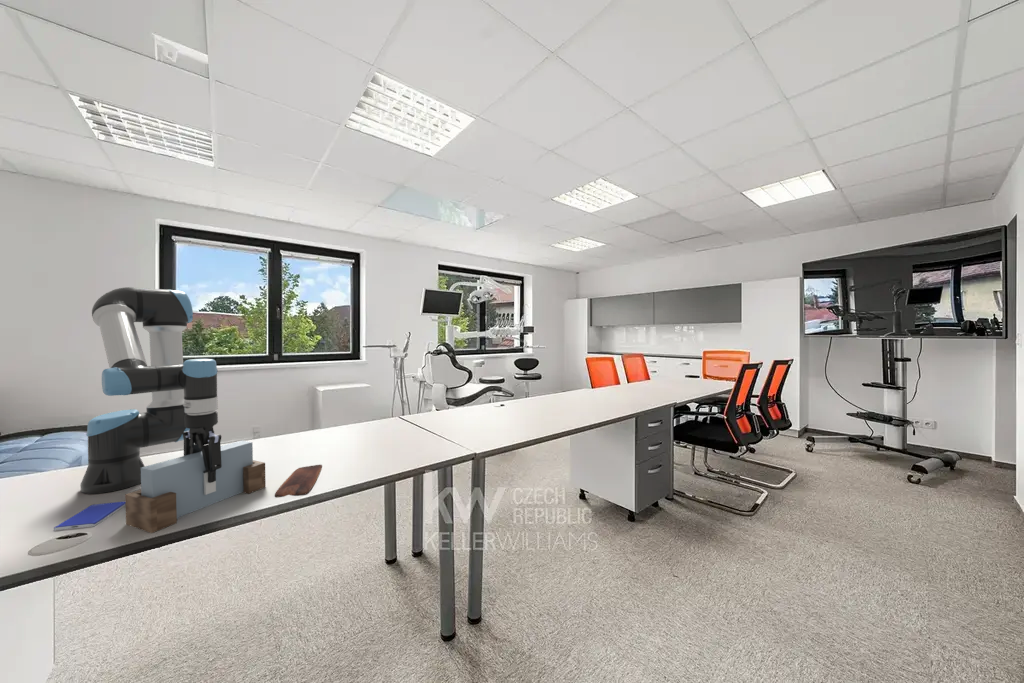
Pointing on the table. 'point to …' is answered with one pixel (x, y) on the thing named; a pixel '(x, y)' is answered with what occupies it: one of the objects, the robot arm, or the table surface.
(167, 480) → the slate panel
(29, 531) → the table surface
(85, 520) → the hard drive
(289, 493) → the wooden tablet
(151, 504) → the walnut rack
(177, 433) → the robot arm
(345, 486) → the table surface
